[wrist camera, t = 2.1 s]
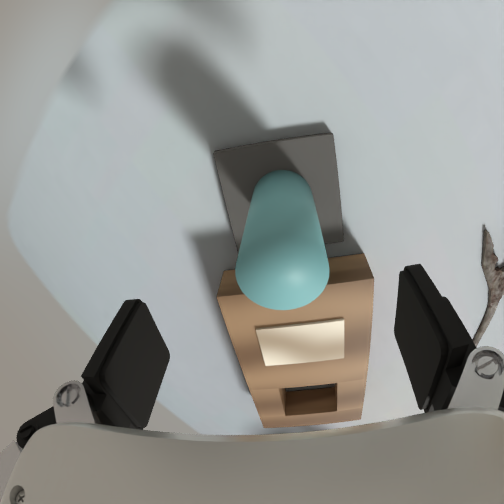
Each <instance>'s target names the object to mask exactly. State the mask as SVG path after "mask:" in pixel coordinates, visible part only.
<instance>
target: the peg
mask: <svg viewBox="0 0 504 504" xmlns="http://www.w3.org/2000/svg"><path fill="white" fill-rule="evenodd" d="M235 275H236V280H237V283H238V285H239V287H240V289H241V290H242V292H243V293H244V294H245V295H246V296H247V297H248V298H249V299H250V300H251V301H253V302H254V303H256V304H258V305H260V306H263V307H265V308H269V309H274V310H291V309H296V308H300V307H302V306H305V305H307V304H309V303H310V302H312V301H313V300H315V299H316V298H317V297H318V296H319V295H320V294H321V293H322V292H323V290H324V289H325V287H326V285H327V282H328V279H329V263H328V258H327V254H326V249H325V245H324V241H323V236H322V232H321V228H320V223H319V219H318V215H317V211H316V207H315V203H314V199H313V195H312V191H311V188H310V186H309V184H308V183H307V181H306V180H305V179H304V178H303V177H302V176H300V175H299V174H297V173H295V172H292V171H288V170H276V171H273V172H270V173H268V174H266V175H265V176H263V177H262V178H261V179H260V180H259V181H258V183H257V184H256V186H255V188H254V192H253V196H252V200H251V204H250V208H249V212H248V216H247V220H246V224H245V229H244V233H243V237H242V241H241V245H240V249H239V254H238V258H237V262H236V268H235Z"/></svg>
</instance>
